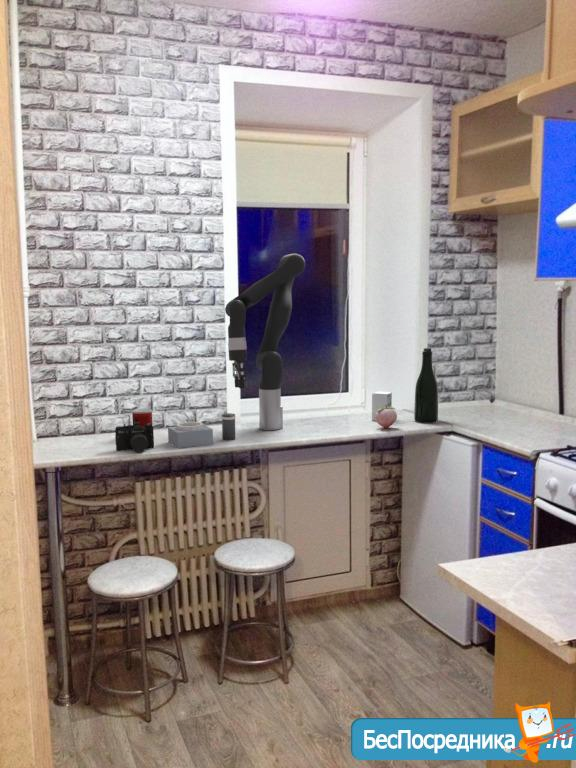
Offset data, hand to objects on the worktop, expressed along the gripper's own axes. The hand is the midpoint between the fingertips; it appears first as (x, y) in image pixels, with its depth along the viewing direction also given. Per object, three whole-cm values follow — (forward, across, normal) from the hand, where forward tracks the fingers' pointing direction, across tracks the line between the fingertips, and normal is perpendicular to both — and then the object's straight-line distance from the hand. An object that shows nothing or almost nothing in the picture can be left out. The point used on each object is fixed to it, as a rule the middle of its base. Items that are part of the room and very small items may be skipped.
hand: (239, 387), depth 280 cm
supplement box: (+20, +9, -67) cm, 70 cm away
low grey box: (+19, -14, +23) cm, 33 cm away
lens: (+19, -11, +8) cm, 24 cm away
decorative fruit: (+21, -10, -60) cm, 65 cm away
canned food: (+18, +4, +40) cm, 44 cm away
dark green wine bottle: (+21, -1, -84) cm, 87 cm away
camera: (+20, -20, +45) cm, 53 cm away
